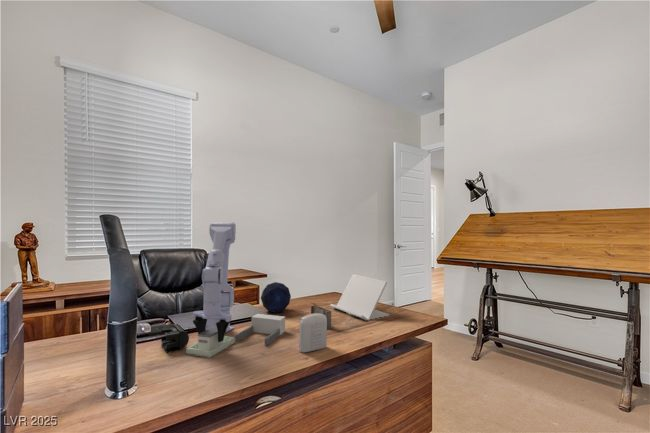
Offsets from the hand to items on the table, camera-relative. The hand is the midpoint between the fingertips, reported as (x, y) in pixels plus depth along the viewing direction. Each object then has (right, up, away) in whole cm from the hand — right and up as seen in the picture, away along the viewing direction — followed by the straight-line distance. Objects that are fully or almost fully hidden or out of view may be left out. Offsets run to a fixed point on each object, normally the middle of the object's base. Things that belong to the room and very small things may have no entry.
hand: (211, 339), depth 115 cm
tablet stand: (+57, -5, +48) cm, 75 cm away
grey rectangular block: (0, -2, 0) cm, 2 cm away
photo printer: (+36, -4, +1) cm, 36 cm away
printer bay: (+15, -3, +12) cm, 20 cm away
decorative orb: (+15, -4, +48) cm, 50 cm away
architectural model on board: (+38, -5, +27) cm, 47 cm away
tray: (0, -3, 0) cm, 3 cm away
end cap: (-13, -3, +1) cm, 14 cm away
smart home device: (-26, -3, +17) cm, 31 cm away
